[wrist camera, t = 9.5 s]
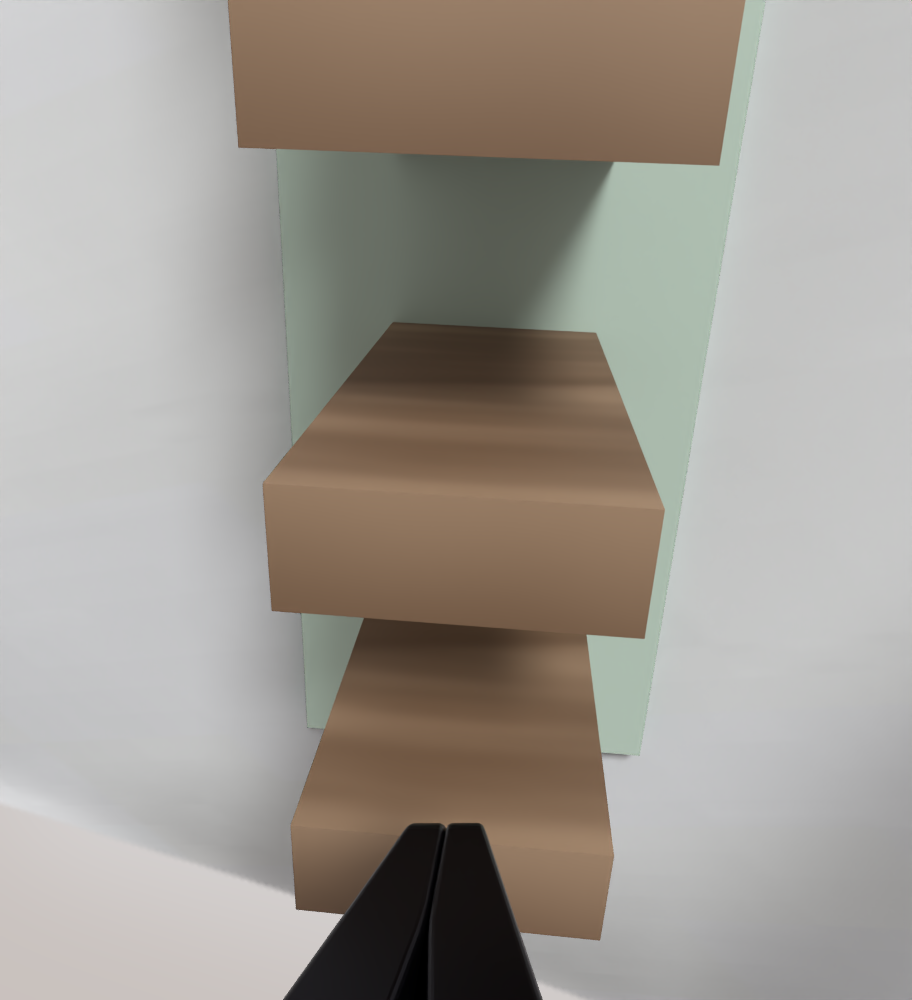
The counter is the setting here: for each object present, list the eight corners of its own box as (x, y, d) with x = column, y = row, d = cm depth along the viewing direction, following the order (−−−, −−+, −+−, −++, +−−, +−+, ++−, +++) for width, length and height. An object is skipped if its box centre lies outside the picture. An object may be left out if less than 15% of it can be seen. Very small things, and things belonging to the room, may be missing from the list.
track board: (983, -1379, 10) (1010, -1469, 9) (636, 741, 24) (639, 755, 23) (209, -1317, 10) (192, -1397, 10) (312, 714, 24) (307, 727, 24)
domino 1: (393, 57, 16) (222, -67, 7) (624, 64, 16) (754, -56, 7) (392, 151, 17) (239, 146, 8) (614, 160, 17) (719, 166, 8)
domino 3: (394, 531, 21) (290, 825, 12) (575, 544, 20) (613, 855, 11) (394, 589, 22) (296, 909, 12) (568, 603, 21) (600, 940, 12)
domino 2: (392, 321, 19) (262, 483, 9) (595, 332, 18) (664, 509, 9) (392, 395, 19) (272, 610, 10) (588, 406, 19) (645, 638, 10)
